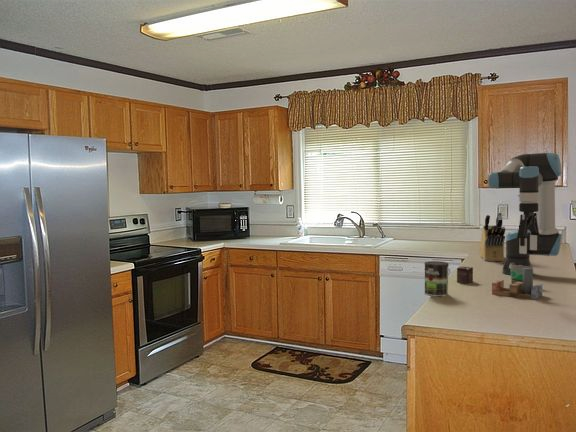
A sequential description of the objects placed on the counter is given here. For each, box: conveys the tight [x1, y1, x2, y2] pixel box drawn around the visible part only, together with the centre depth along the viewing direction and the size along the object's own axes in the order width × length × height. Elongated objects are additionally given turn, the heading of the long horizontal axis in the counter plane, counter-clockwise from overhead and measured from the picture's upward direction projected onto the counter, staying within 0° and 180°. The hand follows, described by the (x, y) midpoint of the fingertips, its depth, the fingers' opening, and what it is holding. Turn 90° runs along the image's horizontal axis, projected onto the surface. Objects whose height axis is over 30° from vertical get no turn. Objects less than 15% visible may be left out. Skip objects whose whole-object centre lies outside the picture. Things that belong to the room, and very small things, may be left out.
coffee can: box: [424, 260, 450, 297], centre depth 232 cm, size 10×10×14 cm
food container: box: [509, 263, 534, 284], centre depth 249 cm, size 12×6×10 cm, turn 21°
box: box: [456, 266, 474, 285], centre depth 259 cm, size 6×6×7 cm
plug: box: [523, 268, 534, 295], centre depth 225 cm, size 4×4×12 cm
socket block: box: [491, 279, 543, 300], centre depth 228 cm, size 10×18×5 cm, turn 48°
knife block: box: [478, 212, 506, 262], centre depth 332 cm, size 11×35×31 cm, turn 167°
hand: (528, 251), depth 224 cm, fingers open, 13 cm apart
